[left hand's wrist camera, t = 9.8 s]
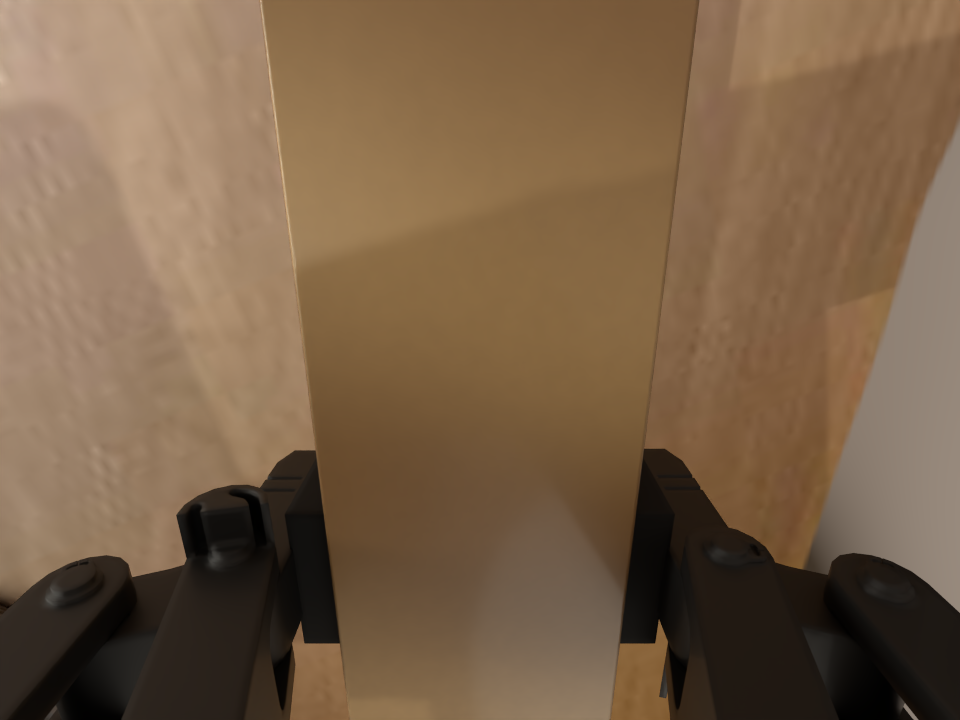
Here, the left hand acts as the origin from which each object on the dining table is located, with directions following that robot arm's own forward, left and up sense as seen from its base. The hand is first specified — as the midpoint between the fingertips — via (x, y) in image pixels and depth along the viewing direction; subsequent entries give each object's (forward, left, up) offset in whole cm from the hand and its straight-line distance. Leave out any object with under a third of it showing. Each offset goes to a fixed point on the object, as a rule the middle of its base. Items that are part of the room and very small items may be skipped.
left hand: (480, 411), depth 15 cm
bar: (+32, +7, -1) cm, 32 cm away
